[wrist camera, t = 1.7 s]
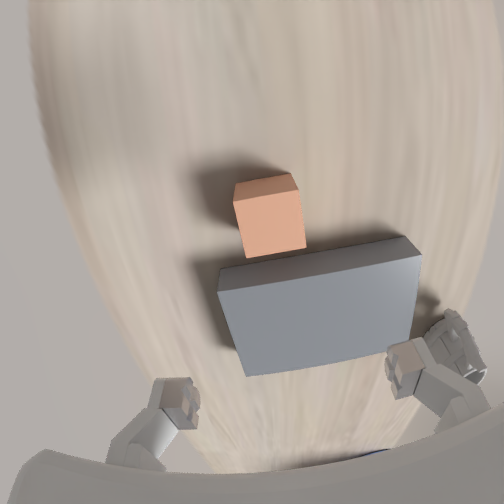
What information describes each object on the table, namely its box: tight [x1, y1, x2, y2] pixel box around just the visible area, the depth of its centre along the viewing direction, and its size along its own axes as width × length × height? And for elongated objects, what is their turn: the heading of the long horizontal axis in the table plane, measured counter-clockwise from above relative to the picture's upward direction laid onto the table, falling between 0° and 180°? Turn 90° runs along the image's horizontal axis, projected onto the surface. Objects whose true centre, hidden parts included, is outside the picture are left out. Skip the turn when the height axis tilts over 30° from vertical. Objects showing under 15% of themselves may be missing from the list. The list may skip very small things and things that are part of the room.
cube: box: [233, 173, 307, 258], centre depth 26 cm, size 5×5×5 cm
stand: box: [217, 236, 422, 377], centre depth 32 cm, size 13×20×4 cm, turn 101°
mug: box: [423, 308, 487, 385], centre depth 31 cm, size 8×12×12 cm, turn 22°
